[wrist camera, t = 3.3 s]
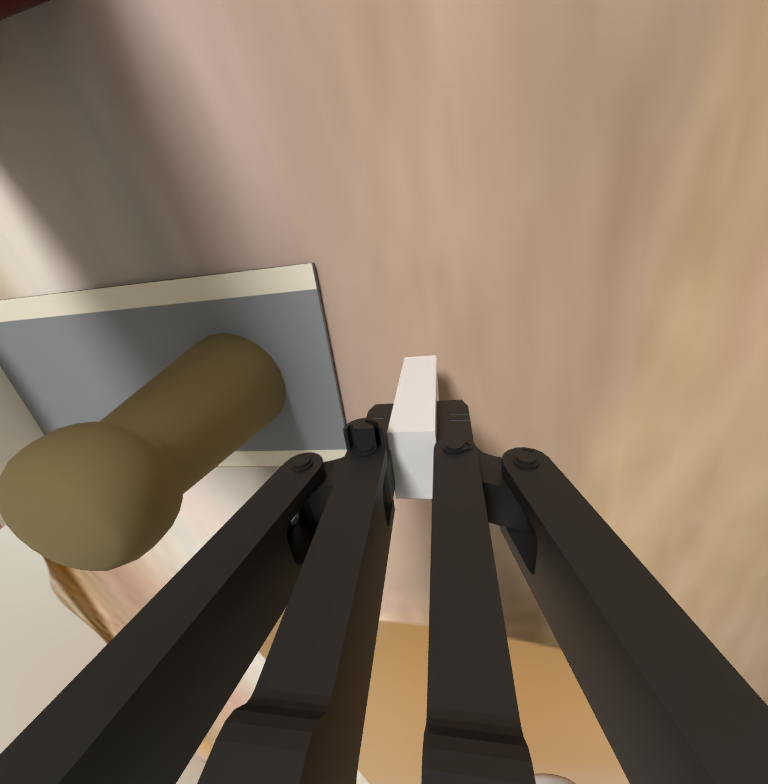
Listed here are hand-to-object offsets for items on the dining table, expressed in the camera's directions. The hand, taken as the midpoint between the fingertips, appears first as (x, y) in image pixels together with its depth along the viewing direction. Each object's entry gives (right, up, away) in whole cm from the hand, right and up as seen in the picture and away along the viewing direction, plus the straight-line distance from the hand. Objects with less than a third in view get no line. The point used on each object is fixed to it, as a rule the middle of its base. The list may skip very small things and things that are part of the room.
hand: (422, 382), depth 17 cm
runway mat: (-15, 0, +4) cm, 16 cm away
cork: (-10, 0, +3) cm, 11 cm away
